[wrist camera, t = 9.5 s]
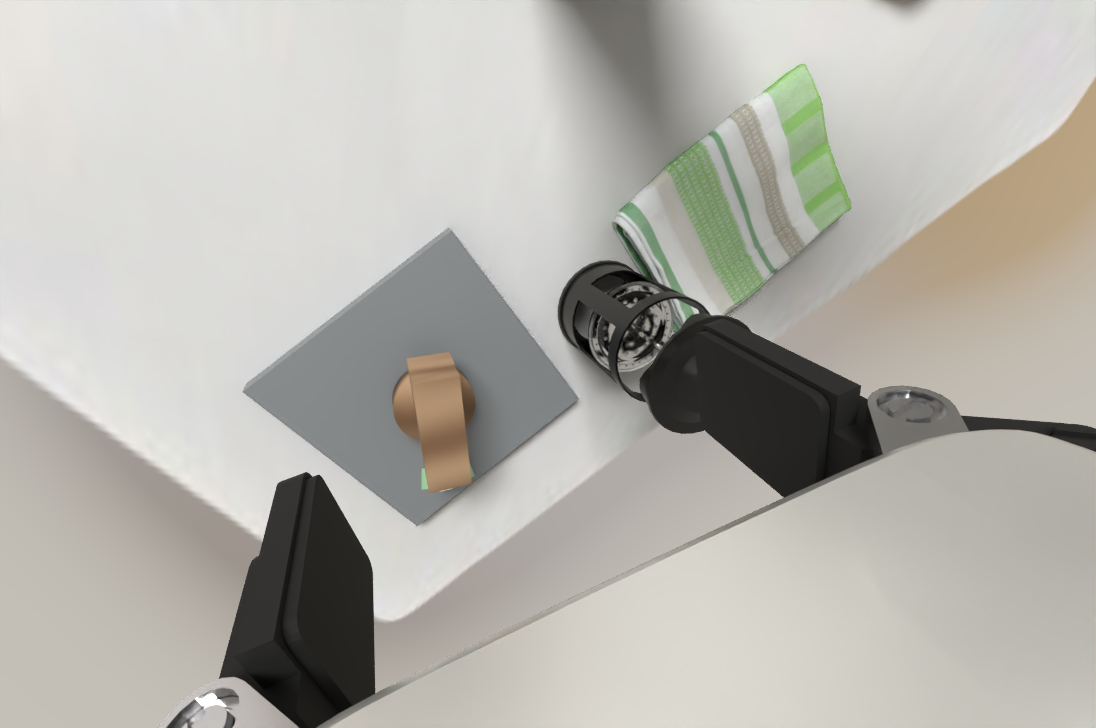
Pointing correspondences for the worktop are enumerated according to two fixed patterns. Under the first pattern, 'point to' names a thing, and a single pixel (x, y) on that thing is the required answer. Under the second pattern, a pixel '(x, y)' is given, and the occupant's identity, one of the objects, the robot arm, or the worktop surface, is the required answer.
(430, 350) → the dial plate
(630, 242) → the dish towel
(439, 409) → the knob
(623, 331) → the french press
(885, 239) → the worktop surface
